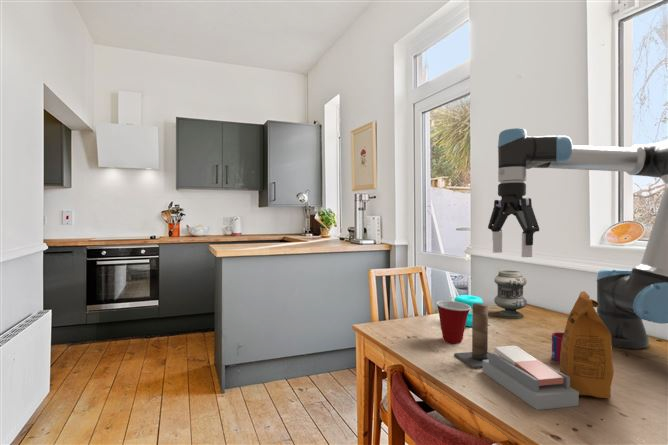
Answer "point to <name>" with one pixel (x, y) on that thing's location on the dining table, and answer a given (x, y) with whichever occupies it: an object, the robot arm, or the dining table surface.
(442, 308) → the plastic cup
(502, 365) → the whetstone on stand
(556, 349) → the cup
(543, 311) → the dining table surface
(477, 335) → the wooden pestle
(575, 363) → the coffee package
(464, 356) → the mat
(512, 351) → the rocker
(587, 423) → the dining table surface
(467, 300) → the donuts
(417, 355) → the dining table surface
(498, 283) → the apothecary jar
